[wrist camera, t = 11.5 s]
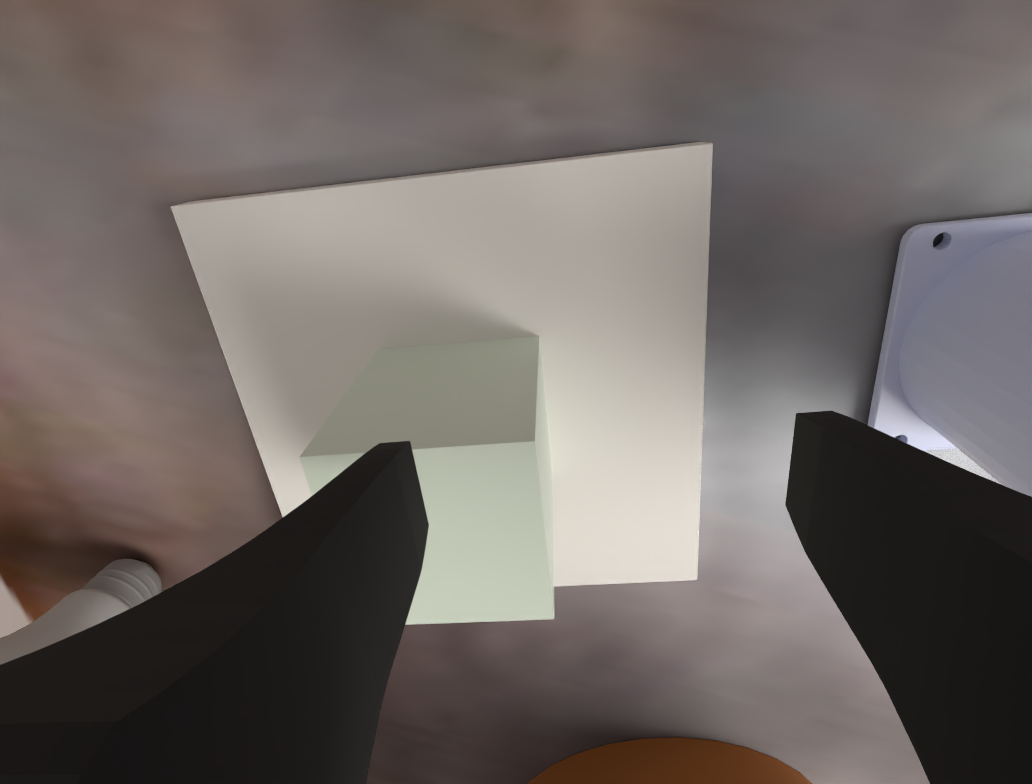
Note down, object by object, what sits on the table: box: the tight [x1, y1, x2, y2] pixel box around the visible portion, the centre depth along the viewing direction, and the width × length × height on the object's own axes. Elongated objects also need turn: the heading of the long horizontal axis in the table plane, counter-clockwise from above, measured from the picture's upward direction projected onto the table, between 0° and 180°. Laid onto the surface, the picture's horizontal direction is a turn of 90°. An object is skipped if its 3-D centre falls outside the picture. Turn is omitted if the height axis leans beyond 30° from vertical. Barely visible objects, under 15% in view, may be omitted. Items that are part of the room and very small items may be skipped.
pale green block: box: [299, 336, 554, 625], centre depth 17 cm, size 5×5×7 cm
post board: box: [170, 142, 713, 586], centre depth 18 cm, size 16×16×6 cm
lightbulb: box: [0, 559, 162, 665], centre depth 20 cm, size 6×6×11 cm
